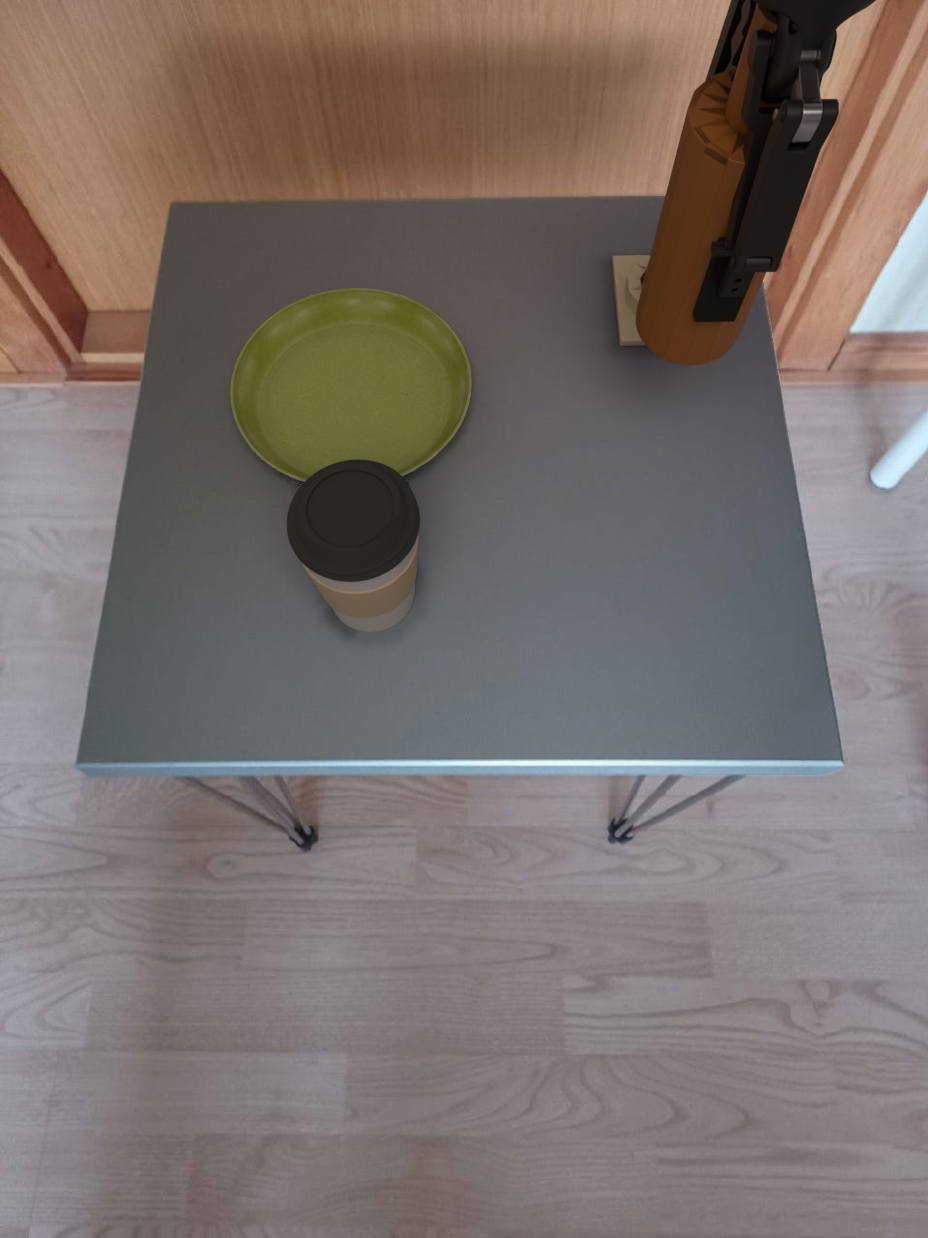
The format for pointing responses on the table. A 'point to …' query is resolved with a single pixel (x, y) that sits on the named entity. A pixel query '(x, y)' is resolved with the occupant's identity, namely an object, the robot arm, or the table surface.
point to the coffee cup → (358, 541)
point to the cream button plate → (628, 295)
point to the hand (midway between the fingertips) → (706, 267)
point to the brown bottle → (699, 219)
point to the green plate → (350, 383)
